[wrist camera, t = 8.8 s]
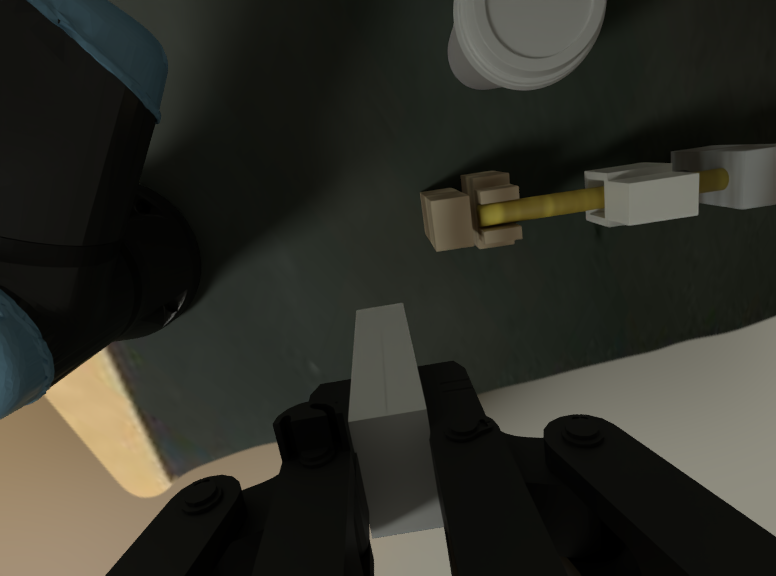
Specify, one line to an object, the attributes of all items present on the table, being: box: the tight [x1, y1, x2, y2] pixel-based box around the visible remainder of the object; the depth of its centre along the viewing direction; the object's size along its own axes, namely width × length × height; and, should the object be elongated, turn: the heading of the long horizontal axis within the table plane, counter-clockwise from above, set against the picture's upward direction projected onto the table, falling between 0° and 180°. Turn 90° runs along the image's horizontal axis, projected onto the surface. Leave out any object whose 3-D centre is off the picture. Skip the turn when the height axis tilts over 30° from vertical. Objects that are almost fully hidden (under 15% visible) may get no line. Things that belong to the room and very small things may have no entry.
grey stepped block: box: [584, 162, 699, 227], centre depth 38 cm, size 5×4×7 cm
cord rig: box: [420, 144, 776, 252], centre depth 42 cm, size 28×6×10 cm, turn 98°
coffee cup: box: [448, 0, 607, 90], centre depth 36 cm, size 10×10×15 cm
